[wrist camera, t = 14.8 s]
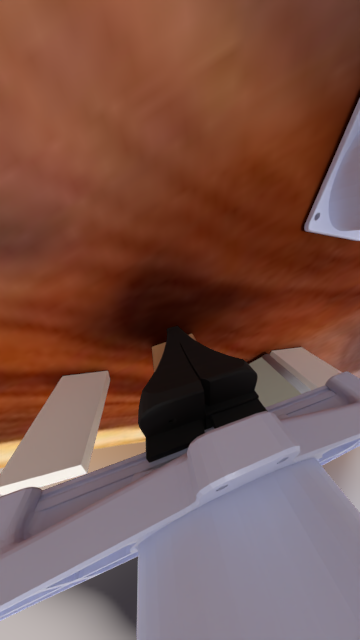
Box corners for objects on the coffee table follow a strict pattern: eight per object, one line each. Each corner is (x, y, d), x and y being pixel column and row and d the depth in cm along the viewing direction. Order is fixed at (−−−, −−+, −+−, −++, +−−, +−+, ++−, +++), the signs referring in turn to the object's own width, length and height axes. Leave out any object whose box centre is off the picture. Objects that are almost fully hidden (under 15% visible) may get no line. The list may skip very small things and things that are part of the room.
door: (144, 420, 19) (145, 483, 14) (268, 352, 19) (316, 391, 13) (152, 424, 20) (155, 485, 15) (269, 360, 20) (314, 399, 14)
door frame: (62, 376, 13) (-10, 489, 7) (301, 347, 21) (365, 386, 15) (67, 386, 13) (5, 497, 7) (296, 354, 21) (355, 395, 15)
